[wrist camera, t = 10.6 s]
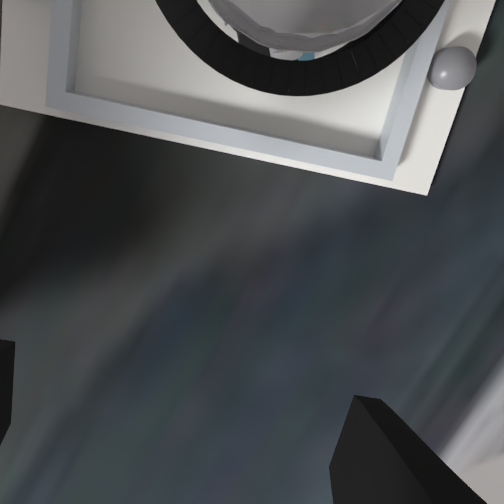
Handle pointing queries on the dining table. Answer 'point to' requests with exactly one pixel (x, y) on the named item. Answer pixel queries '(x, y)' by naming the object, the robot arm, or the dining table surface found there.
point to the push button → (300, 39)
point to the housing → (239, 89)
